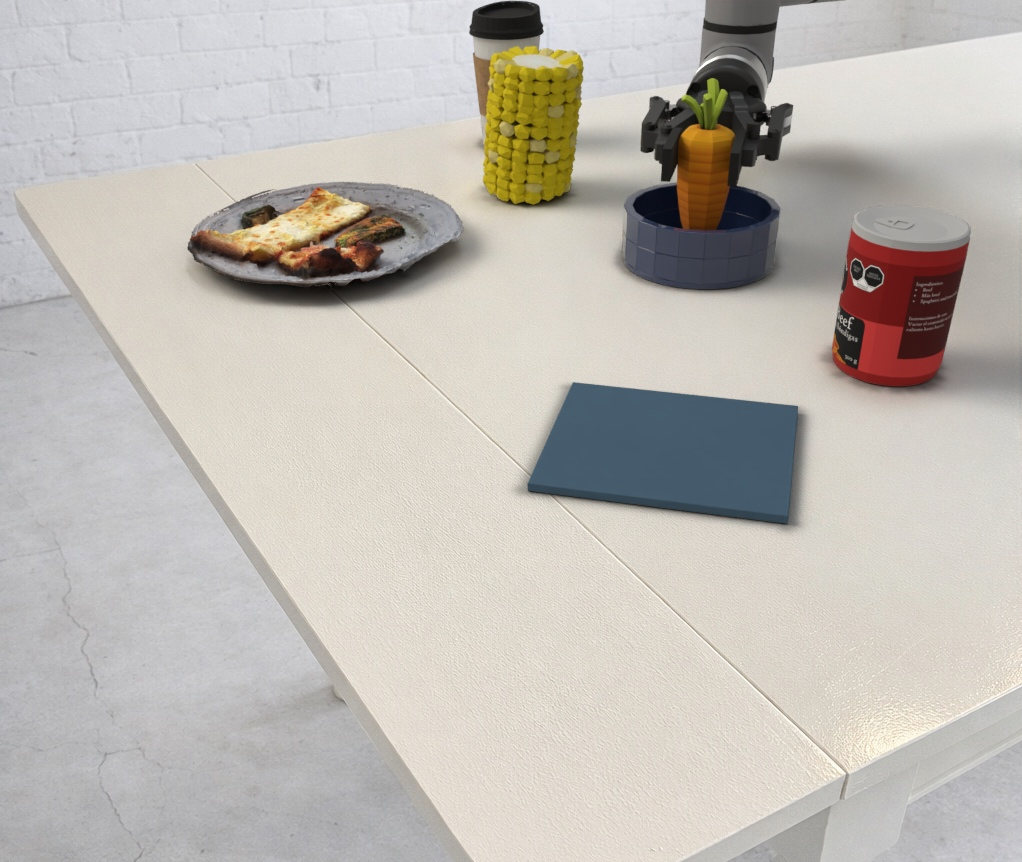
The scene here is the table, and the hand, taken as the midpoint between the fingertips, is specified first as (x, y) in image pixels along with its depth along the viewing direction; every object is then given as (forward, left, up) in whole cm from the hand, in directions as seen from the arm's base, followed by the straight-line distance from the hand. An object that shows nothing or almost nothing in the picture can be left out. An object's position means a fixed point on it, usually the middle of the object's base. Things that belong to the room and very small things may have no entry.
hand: (699, 167), depth 92 cm
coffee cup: (+26, -37, -10) cm, 47 cm away
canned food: (-16, +13, -10) cm, 23 cm away
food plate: (+34, 0, -10) cm, 35 cm away
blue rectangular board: (-2, +29, -10) cm, 30 cm away
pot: (0, -5, -10) cm, 11 cm away
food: (+19, -20, -10) cm, 30 cm away
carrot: (0, -5, -10) cm, 11 cm away
